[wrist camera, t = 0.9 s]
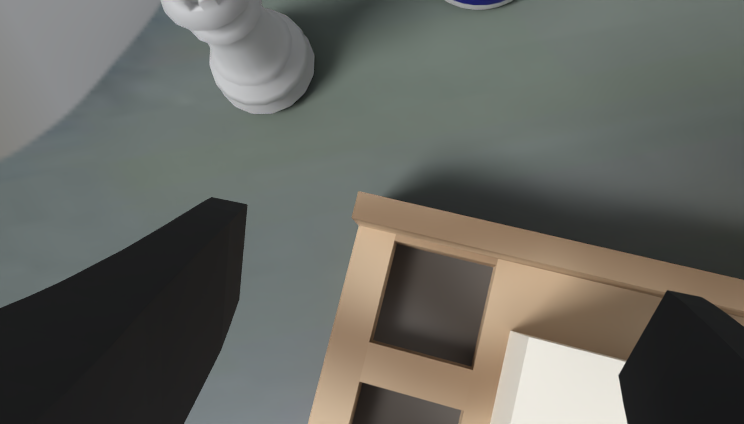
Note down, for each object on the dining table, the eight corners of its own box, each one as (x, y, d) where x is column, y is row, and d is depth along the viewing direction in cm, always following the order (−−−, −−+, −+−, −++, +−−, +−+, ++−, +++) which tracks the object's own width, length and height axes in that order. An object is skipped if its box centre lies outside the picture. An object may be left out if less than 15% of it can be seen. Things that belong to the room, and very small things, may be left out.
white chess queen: (324, 107, 25) (273, 17, 17) (226, 127, 26) (133, 48, 18) (309, 14, 26) (253, -111, 18) (215, 35, 26) (120, -80, 19)
